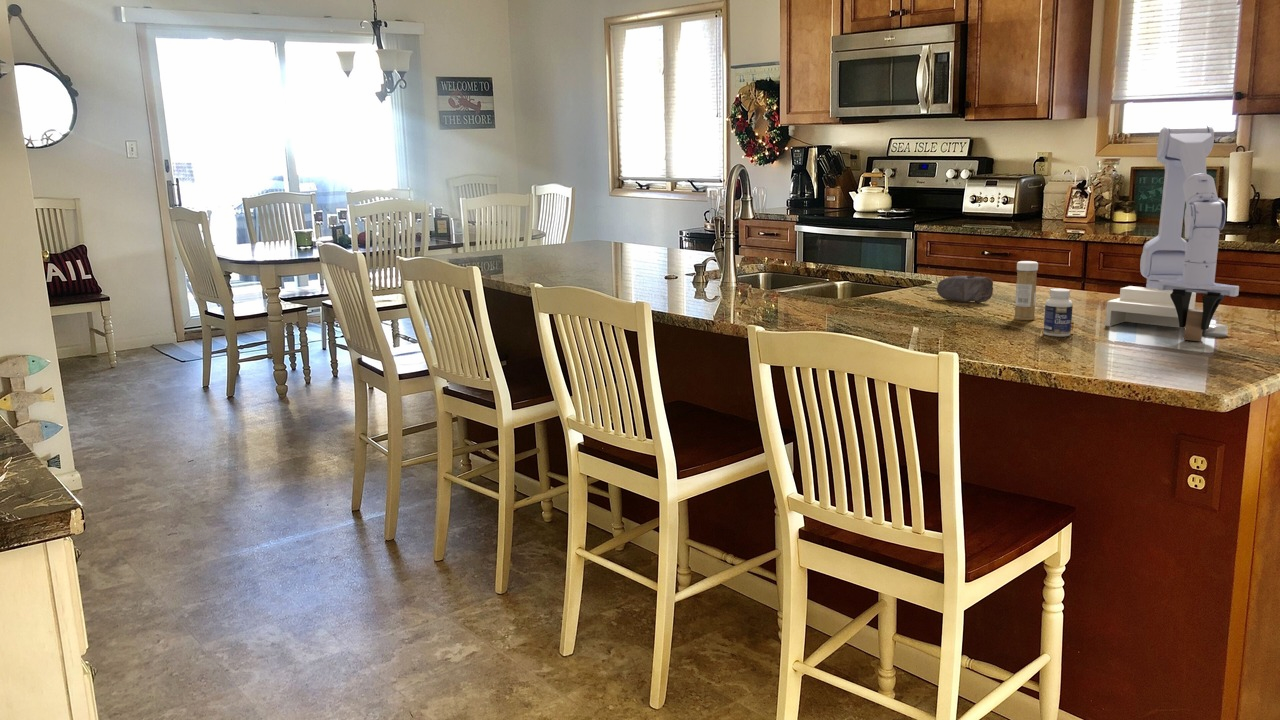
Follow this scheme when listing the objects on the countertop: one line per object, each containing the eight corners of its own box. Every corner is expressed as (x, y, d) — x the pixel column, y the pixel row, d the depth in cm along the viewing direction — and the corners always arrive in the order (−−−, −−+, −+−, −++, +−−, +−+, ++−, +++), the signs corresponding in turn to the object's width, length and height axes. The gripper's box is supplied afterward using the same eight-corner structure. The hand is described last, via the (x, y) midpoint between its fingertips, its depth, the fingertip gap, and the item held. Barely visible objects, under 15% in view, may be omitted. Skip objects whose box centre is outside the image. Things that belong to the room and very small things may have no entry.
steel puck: (1202, 332, 216) (1203, 322, 216) (1229, 334, 213) (1230, 325, 213) (1197, 335, 212) (1198, 326, 212) (1224, 338, 209) (1225, 328, 209)
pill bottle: (1054, 337, 213) (1057, 292, 211) (1037, 333, 218) (1040, 288, 216) (1076, 336, 214) (1079, 290, 212) (1059, 331, 219) (1062, 287, 217)
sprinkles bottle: (1038, 319, 234) (1042, 261, 231) (1026, 321, 231) (1030, 263, 229) (1021, 316, 238) (1025, 259, 235) (1009, 319, 235) (1012, 261, 232)
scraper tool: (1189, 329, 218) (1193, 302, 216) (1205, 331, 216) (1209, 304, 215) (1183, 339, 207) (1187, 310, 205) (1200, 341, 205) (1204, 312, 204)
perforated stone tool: (931, 300, 265) (932, 273, 264) (942, 297, 268) (943, 271, 267) (983, 306, 254) (984, 278, 252) (994, 303, 257) (995, 276, 256)
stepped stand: (1122, 320, 231) (1125, 285, 229) (1192, 328, 220) (1196, 291, 218) (1105, 325, 225) (1108, 290, 223) (1176, 334, 214) (1180, 296, 212)
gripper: (1154, 260, 206) (1148, 326, 209) (1232, 266, 195) (1225, 335, 198) (1168, 257, 211) (1162, 321, 213) (1245, 262, 200) (1238, 330, 203)
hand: (1193, 327), depth 206 cm, fingers closed on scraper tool, 3 cm apart
